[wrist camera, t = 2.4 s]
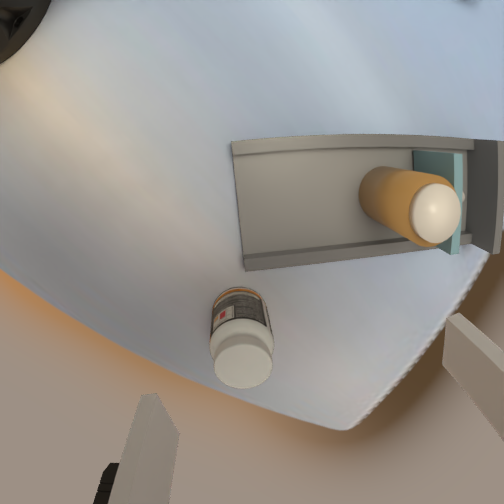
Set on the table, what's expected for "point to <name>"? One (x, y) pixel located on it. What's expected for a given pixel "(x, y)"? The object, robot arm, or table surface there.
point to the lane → (348, 195)
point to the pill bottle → (241, 338)
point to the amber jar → (411, 204)
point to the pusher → (453, 172)
